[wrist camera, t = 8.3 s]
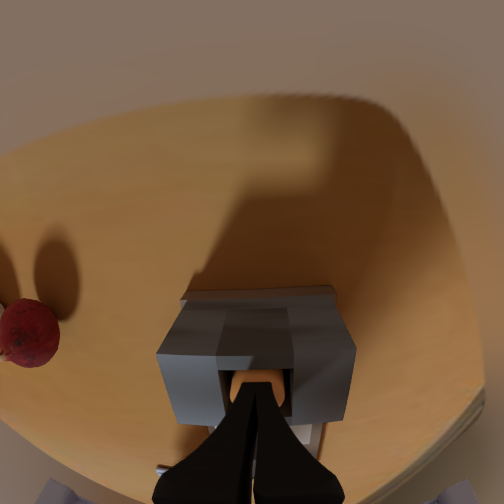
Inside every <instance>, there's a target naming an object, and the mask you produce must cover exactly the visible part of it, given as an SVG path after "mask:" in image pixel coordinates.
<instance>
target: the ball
mask: <svg viewBox="0 0 504 504" xmlns="http://www.w3.org/2000/svg"><path fill="white" fill-rule="evenodd" d="M4 311H5V310H4V307H3V305H2V304H0V318H1V316H2V314H3V312H4Z"/></svg>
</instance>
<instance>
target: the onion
mask: <svg viewBox="0 0 504 504" xmlns="http://www.w3.org/2000/svg"><path fill="white" fill-rule="evenodd" d="M59 339H60V330H59V325H58V321H57V319H56V317H55V315H54V314H53V312H52V311H51V310H50V309H49V308H48V307H47V306H45V305H44V304H42V303H40V302H39V301H37V300H32V299H26V298H23V299H19V300H16V301H15V302H13V303H12V304H11V305H9V306H8V307H7V308H6V309H5V311H4V312H3V314H2V316H1V318H0V361H1V362H3V361H12V362H13V363H15V364H17V365H19V366H22V367H26V368H33V367H39V366H42V365H44V364H46V363H47V362H48V361H50V359H51V358H52V357H53V356H54V354H55V353H56V351H57V350H58V345H59Z"/></svg>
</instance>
